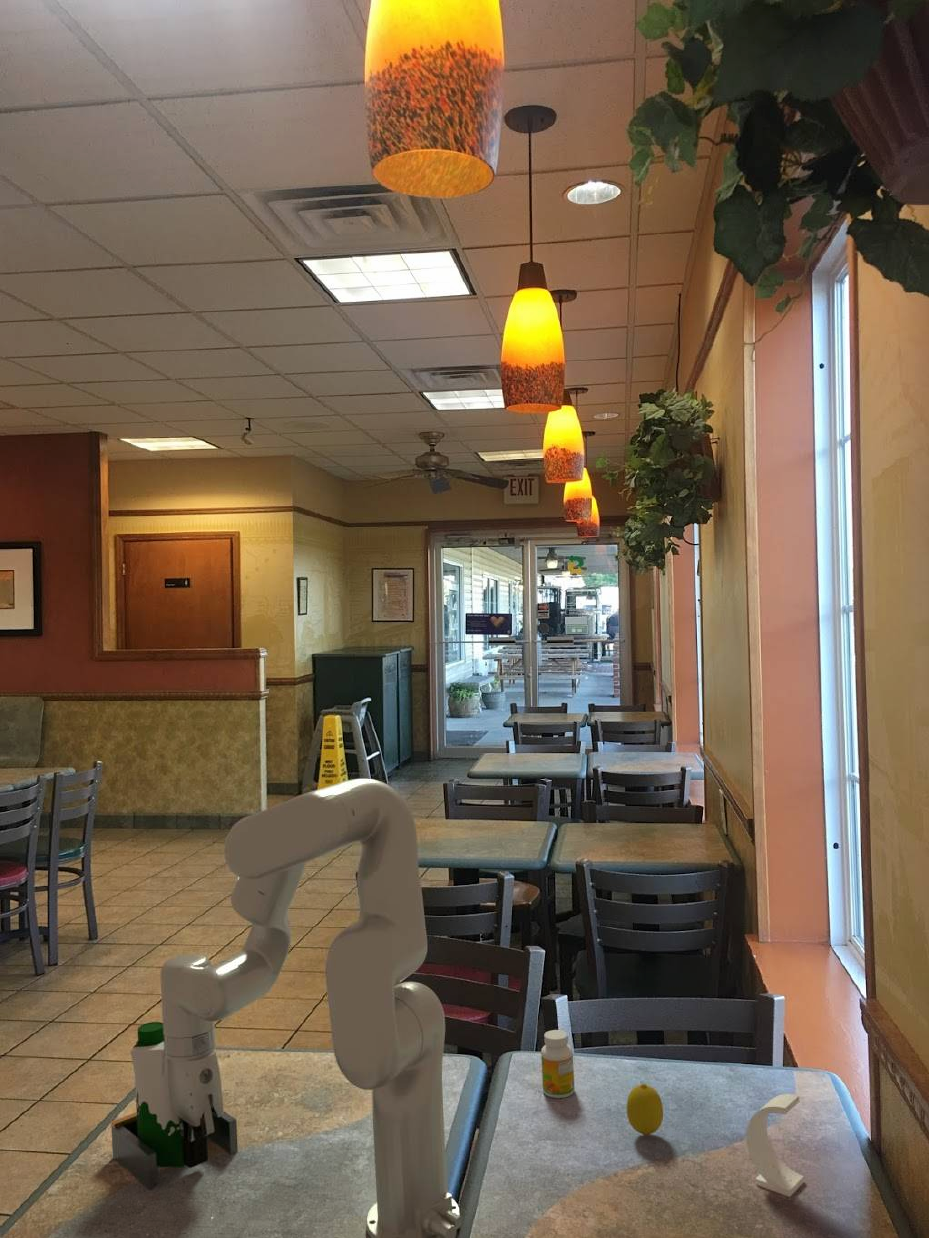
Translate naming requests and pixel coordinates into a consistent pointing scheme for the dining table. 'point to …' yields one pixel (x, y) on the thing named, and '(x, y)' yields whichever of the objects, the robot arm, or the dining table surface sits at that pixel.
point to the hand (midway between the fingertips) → (195, 1162)
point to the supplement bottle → (557, 1065)
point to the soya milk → (155, 1097)
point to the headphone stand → (771, 1149)
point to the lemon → (644, 1109)
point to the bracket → (143, 1158)
